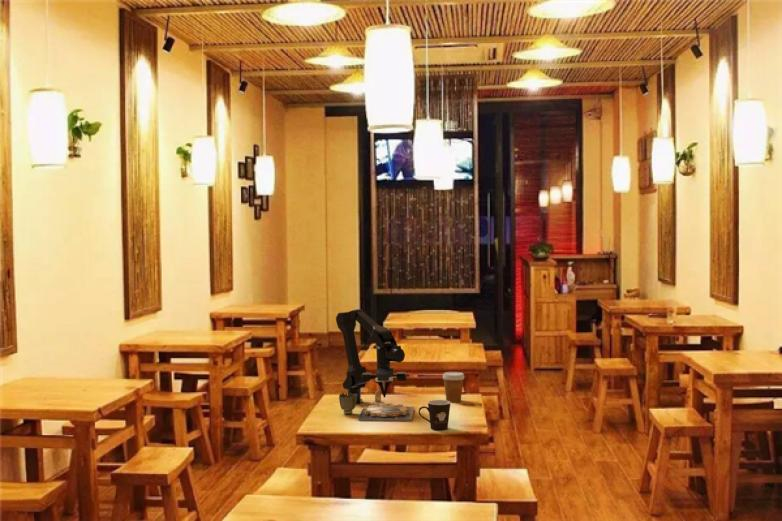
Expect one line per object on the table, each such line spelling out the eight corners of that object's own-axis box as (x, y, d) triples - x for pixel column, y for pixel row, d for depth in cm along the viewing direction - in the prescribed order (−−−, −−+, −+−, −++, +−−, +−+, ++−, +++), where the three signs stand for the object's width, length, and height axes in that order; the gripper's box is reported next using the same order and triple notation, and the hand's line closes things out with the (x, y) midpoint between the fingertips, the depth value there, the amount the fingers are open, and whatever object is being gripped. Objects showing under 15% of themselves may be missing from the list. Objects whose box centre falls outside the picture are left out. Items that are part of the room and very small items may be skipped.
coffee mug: (452, 426, 325) (452, 400, 325) (448, 431, 317) (448, 405, 316) (422, 424, 328) (422, 399, 327) (418, 430, 319) (417, 404, 319)
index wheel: (352, 411, 346) (352, 395, 346) (386, 404, 359) (386, 389, 359) (385, 420, 331) (384, 403, 331) (419, 412, 344) (419, 396, 344)
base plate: (363, 408, 356) (363, 405, 356) (414, 409, 354) (413, 406, 354) (358, 420, 335) (358, 417, 335) (411, 421, 333) (411, 418, 333)
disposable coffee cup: (446, 403, 364) (446, 376, 363) (439, 399, 373) (439, 372, 372) (467, 402, 366) (467, 375, 365) (460, 398, 375) (460, 371, 375)
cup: (354, 416, 342) (354, 396, 342) (336, 415, 344) (336, 396, 343) (359, 412, 350) (358, 392, 349) (341, 411, 351) (341, 392, 351)
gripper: (359, 363, 345) (361, 401, 346) (405, 362, 345) (406, 400, 346) (361, 359, 356) (362, 396, 357) (406, 358, 356) (406, 395, 357)
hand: (384, 397), depth 354 cm, fingers closed
